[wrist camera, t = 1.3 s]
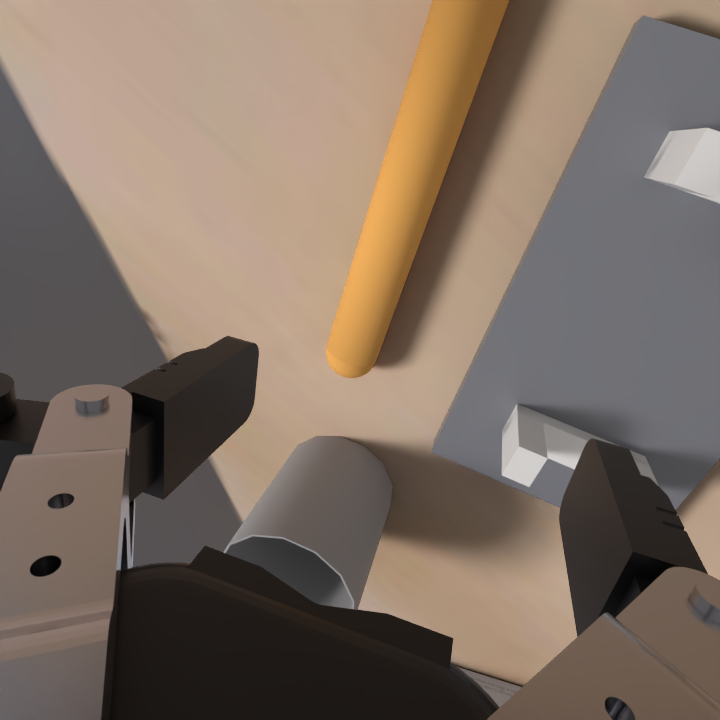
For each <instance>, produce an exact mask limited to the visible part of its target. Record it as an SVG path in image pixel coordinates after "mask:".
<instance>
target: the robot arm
mask: <svg viewBox="0 0 720 720" xmlns="http://www.w3.org/2000/svg"><path fill="white" fill-rule="evenodd" d="M258 357H259V350H258V346H257V345H256V344H255V343H251V342H248V341H244V340H241V339H237V338H234V337H230V336H226V337H224V338H222V339H221V340H219V341H217V342H216V343H214V344H212V345H210V346H209V347H207V348H205V349H204V348H203V349H199V350H195V351H191V352H186V353H183V354H181V355H179V356H178V357H176V358H174V359H172V360H170V361H169V363H165V364H163V365H162V366H160V367H158V368H157V370H155V369H154V370H152V371H151V372H149V373H147V374H145V375H143V376H142V377H140V378H138V379H136V380H134V381H133V382H131V383H129V384H127V385H125V386H124V387H122V388H119V387H115V386H110V385H85V386H79V387H74V388H71V389H68V390H65V391H63V392H61V393H59V394H58V395H56V396H55V397H54V398H53V399H52V400H51V402H50V403H49V402H39V401H30V400H20V399H16V393H15V385H14V381H13V379H12V378H11V377H10V376H8V375H6V374H3V373H0V720H720V580H718V579H716V578H714V577H712V576H710V575H708V573H707V571H706V569H705V568H704V566H703V564H702V562H701V560H700V558H699V556H698V554H697V552H696V550H695V548H694V546H693V544H692V542H691V540H690V538H689V536H688V534H687V532H686V531H684V526H683V524H682V522H681V520H680V518H679V517H678V516H676V514H677V512H676V510H675V509H674V507H673V505H672V503H671V501H670V499H669V497H668V495H667V494H666V493H665V492H664V491H663V490H662V489H661V488H660V487H659V486H658V485H657V484H656V483H655V482H654V481H653V480H652V479H651V478H650V477H646V476H643V475H641V474H640V471H639V469H638V467H637V465H636V463H635V460H634V458H633V456H632V454H631V452H630V450H629V449H628V448H625V447H622V446H618V445H614V444H611V443H607V442H604V441H600V440H597V439H593V438H592V439H590V440H589V441H588V442H587V443H586V445H585V447H584V449H583V451H582V454H581V456H580V458H579V461H578V463H577V465H576V468H575V470H574V472H573V475H572V477H571V479H570V482H569V484H568V486H567V489H566V491H565V493H564V496H563V499H562V503H561V507H560V515H559V521H560V529H561V535H562V541H563V548H564V554H565V560H566V567H567V573H568V579H569V586H570V592H571V598H572V605H573V611H574V618H575V624H576V630H577V638H576V639H575V640H574V641H573V642H572V643H570V644H569V645H568V646H567V647H566V648H565V649H564V650H563V651H562V652H561V653H559V654H558V655H557V656H556V657H555V658H554V659H553V660H552V661H551V662H549V663H548V664H547V665H546V666H545V667H544V668H543V669H542V670H541V671H540V672H538V673H537V674H536V675H535V676H534V677H533V678H532V679H531V680H530V681H529V682H527V683H526V684H525V685H524V686H523V687H522V688H521V689H520V690H519V691H517V692H516V693H515V694H514V695H513V696H512V697H511V698H510V699H509V700H508V701H506V702H505V703H504V704H503V705H502V706H501V707H499V706H498V705H497V703H496V702H495V701H494V700H493V699H492V698H491V696H490V695H489V694H488V693H487V692H486V691H485V690H484V689H483V688H482V687H481V686H480V685H479V684H478V683H477V682H475V681H474V680H473V679H472V678H471V677H469V676H468V675H467V674H466V673H464V672H463V671H462V670H461V669H459V668H458V667H456V666H455V665H454V664H452V663H451V653H452V644H453V638H451V637H448V636H445V635H443V634H440V633H437V632H435V631H432V630H429V629H427V628H424V627H421V626H419V625H416V624H413V623H411V622H408V621H405V620H403V619H400V618H397V617H395V616H392V615H389V614H385V613H378V612H370V611H363V610H355V609H348V608H341V607H333V606H326V605H320V604H317V603H315V602H313V601H311V600H309V599H308V598H306V597H305V596H303V595H302V594H301V593H299V592H298V591H296V590H295V589H293V588H292V587H290V586H289V585H287V584H286V583H284V582H283V581H281V580H280V579H279V578H277V577H276V576H274V575H273V574H271V573H270V572H268V571H267V570H265V569H264V568H262V567H261V566H258V565H255V564H253V563H250V562H247V561H245V560H242V559H239V558H237V557H234V556H231V555H228V554H226V553H223V552H220V551H218V550H215V549H212V548H210V547H207V546H204V548H203V549H202V550H201V551H200V553H199V554H198V555H197V556H196V558H195V559H194V560H193V561H192V562H191V564H188V563H157V564H148V565H143V566H137V567H133V546H134V524H135V498H136V497H137V496H138V495H139V494H140V493H142V492H144V493H147V494H150V495H152V496H155V497H158V498H161V499H165V498H166V497H167V496H168V495H169V494H170V493H171V492H172V491H173V490H174V489H175V488H176V487H177V486H179V484H181V483H182V482H183V481H184V480H185V479H186V478H187V477H188V476H189V475H190V474H191V473H192V472H193V471H194V470H195V469H196V468H197V467H198V466H200V465H201V464H202V463H203V462H204V461H205V460H206V459H207V458H208V457H209V456H210V455H211V454H212V453H213V452H214V451H215V450H216V449H217V448H218V447H219V446H221V445H222V444H223V443H224V442H225V441H226V440H227V439H228V438H229V437H230V436H231V435H232V434H233V433H234V432H235V431H236V430H237V429H238V428H239V427H240V426H242V425H243V424H244V423H245V421H246V420H247V419H248V417H249V415H250V413H251V411H252V408H253V405H254V399H255V389H256V378H257V368H258Z"/></svg>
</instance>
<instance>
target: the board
mask: <svg viewBox="0 0 720 720" xmlns="http://www.w3.org/2000/svg"><path fill="white" fill-rule="evenodd" d="M592 438H593V439H597V440H600V441H604V442H607V443H611V444H614V445H618V446H622V447H625V448H628V449H629V450H630V452H631V454H632V456H633V458H634V460H635V463H636V465H637V467H638V469H639V471H640V474H641V475H643V476H646V477H650V478H651V479H652V480H653V481H654V482H655V483H656V484H657V485H658V486H659V487H660V488H661V489H662V490H663V491H664V492H665V493H666V494H667V495H668V497H669V499H670V501H671V503H672V505H673V507H674V509H675V510H676V509H677V508H678V507H679V505H680V504H681V503H682V502H683V501H684V500H685V498H686V497H687V496H688V495H689V494H690V493H691V491H692V490H693V489H694V488H695V487H696V486H697V485H698V483H699V482H700V481H701V480H702V479H703V478H704V476H705V475H706V474H707V473H708V472H709V471H710V469H711V468H712V467H713V466H714V465H715V464H716V463H717V461H718V460H719V459H720V39H718V38H715V37H711V36H708V35H705V34H702V33H698V32H695V31H692V30H689V29H685V28H682V27H679V26H676V25H672V24H669V23H666V22H663V21H659V20H656V19H653V18H650V17H647V16H642V17H641V18H640V19H639V20H638V21H637V22H636V23H635V24H634V26H633V28H632V30H631V32H630V34H629V36H628V38H627V40H626V42H625V44H624V46H623V48H622V51H621V53H620V55H619V57H618V59H617V61H616V63H615V65H614V67H613V69H612V71H611V73H610V76H609V78H608V80H607V82H606V84H605V86H604V88H603V90H602V92H601V94H600V96H599V98H598V101H597V103H596V105H595V107H594V109H593V111H592V113H591V115H590V117H589V119H588V121H587V123H586V125H585V128H584V130H583V132H582V134H581V136H580V138H579V140H578V142H577V144H576V146H575V148H574V150H573V153H572V155H571V157H570V159H569V161H568V163H567V165H566V167H565V169H564V171H563V173H562V175H561V178H560V180H559V182H558V184H557V186H556V188H555V190H554V192H553V194H552V196H551V198H550V200H549V202H548V205H547V207H546V209H545V211H544V213H543V215H542V217H541V219H540V221H539V223H538V225H537V227H536V230H535V232H534V234H533V236H532V238H531V240H530V242H529V244H528V246H527V248H526V250H525V252H524V255H523V257H522V259H521V261H520V263H519V265H518V267H517V269H516V271H515V273H514V275H513V277H512V279H511V282H510V284H509V286H508V288H507V290H506V292H505V294H504V296H503V298H502V300H501V302H500V304H499V307H498V309H497V311H496V313H495V315H494V317H493V319H492V321H491V323H490V325H489V327H488V329H487V332H486V334H485V336H484V338H483V340H482V342H481V344H480V346H479V348H478V350H477V352H476V354H475V356H474V359H473V361H472V363H471V365H470V367H469V369H468V371H467V373H466V375H465V377H464V379H463V381H462V384H461V386H460V388H459V390H458V392H457V394H456V396H455V398H454V400H453V402H452V404H451V406H450V409H449V411H448V413H447V415H446V417H445V419H444V421H443V423H442V425H441V427H440V429H439V431H438V433H437V436H436V438H435V440H434V444H433V448H432V453H435V454H437V455H439V456H442V457H444V458H446V459H448V460H451V461H453V462H455V463H458V464H460V465H462V466H465V467H467V468H469V469H472V470H474V471H476V472H479V473H481V474H483V475H486V476H488V477H490V478H493V479H495V480H497V481H499V482H502V483H504V484H506V485H509V486H511V487H513V488H516V489H518V490H520V491H523V492H525V493H527V494H530V495H532V496H534V497H537V498H539V499H541V500H544V501H546V502H548V503H550V504H553V505H555V506H557V507H561V503H562V499H563V496H564V493H565V491H566V489H567V486H568V484H569V482H570V479H571V477H572V475H573V472H574V470H575V468H576V465H577V463H578V461H579V458H580V456H581V454H582V451H583V449H584V447H585V445H586V443H587V442H588V441H589V440H590V439H592Z"/></svg>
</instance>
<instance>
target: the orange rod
mask: <svg viewBox="0 0 720 720" xmlns="http://www.w3.org/2000/svg"><path fill="white" fill-rule="evenodd" d="M508 3H509V0H433V1H432V4H431V8H430V11H429V14H428V17H427V21H426V24H425V27H424V31H423V34H422V37H421V40H420V44H419V47H418V50H417V53H416V57H415V60H414V63H413V66H412V70H411V73H410V76H409V79H408V83H407V86H406V89H405V92H404V96H403V99H402V102H401V105H400V109H399V112H398V115H397V118H396V122H395V125H394V128H393V132H392V135H391V138H390V141H389V145H388V148H387V151H386V154H385V158H384V161H383V164H382V167H381V171H380V174H379V177H378V180H377V184H376V187H375V190H374V193H373V197H372V200H371V203H370V206H369V210H368V213H367V216H366V220H365V223H364V226H363V229H362V233H361V236H360V239H359V242H358V246H357V249H356V252H355V255H354V259H353V262H352V265H351V268H350V272H349V275H348V278H347V281H346V285H345V288H344V291H343V294H342V298H341V301H340V304H339V307H338V311H337V314H336V317H335V321H334V324H333V327H332V330H331V334H330V337H329V340H328V343H327V348H326V357H327V360H328V363H329V365H330V367H331V368H332V369H333V370H334V371H335V372H336V373H337V374H339V375H341V376H343V377H347V378H356V377H360V376H363V375H365V374H366V373H368V372H369V371H370V370H371V369H372V367H373V366H374V364H375V362H376V360H377V357H378V355H379V352H380V349H381V347H382V344H383V341H384V338H385V336H386V333H387V330H388V328H389V325H390V322H391V319H392V317H393V314H394V311H395V309H396V306H397V303H398V301H399V298H400V295H401V292H402V290H403V287H404V284H405V282H406V279H407V276H408V273H409V271H410V268H411V265H412V263H413V260H414V257H415V255H416V252H417V249H418V246H419V244H420V241H421V238H422V236H423V233H424V230H425V227H426V225H427V222H428V219H429V217H430V214H431V211H432V209H433V206H434V203H435V200H436V198H437V195H438V192H439V190H440V187H441V184H442V181H443V179H444V176H445V173H446V171H447V168H448V165H449V162H450V160H451V157H452V154H453V152H454V149H455V146H456V144H457V141H458V138H459V135H460V133H461V130H462V127H463V125H464V122H465V119H466V116H467V114H468V111H469V108H470V106H471V103H472V100H473V98H474V95H475V92H476V89H477V87H478V84H479V81H480V79H481V76H482V73H483V70H484V68H485V65H486V62H487V60H488V57H489V54H490V52H491V49H492V46H493V43H494V41H495V38H496V35H497V33H498V30H499V27H500V24H501V22H502V19H503V16H504V14H505V11H506V8H507V5H508Z"/></svg>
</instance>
